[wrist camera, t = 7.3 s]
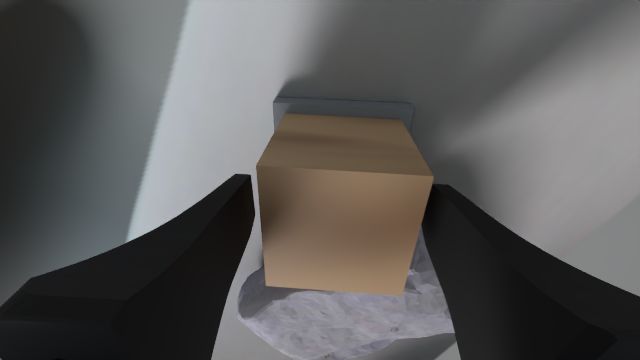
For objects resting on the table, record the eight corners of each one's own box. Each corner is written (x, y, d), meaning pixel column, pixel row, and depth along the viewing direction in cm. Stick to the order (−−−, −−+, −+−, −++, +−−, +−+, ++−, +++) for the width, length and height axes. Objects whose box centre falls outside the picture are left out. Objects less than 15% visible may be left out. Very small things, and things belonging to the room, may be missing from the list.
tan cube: (383, 213, 15) (402, 296, 11) (287, 207, 15) (265, 285, 11) (401, 119, 12) (434, 176, 8) (284, 113, 13) (256, 165, 8)
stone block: (458, 261, 20) (405, 190, 14) (490, 337, 17) (439, 290, 11) (319, 303, 25) (230, 265, 18) (323, 369, 22) (217, 351, 15)
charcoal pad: (388, 208, 16) (390, 218, 16) (281, 203, 16) (278, 212, 16) (410, 103, 13) (414, 109, 12) (276, 97, 13) (272, 102, 12)
